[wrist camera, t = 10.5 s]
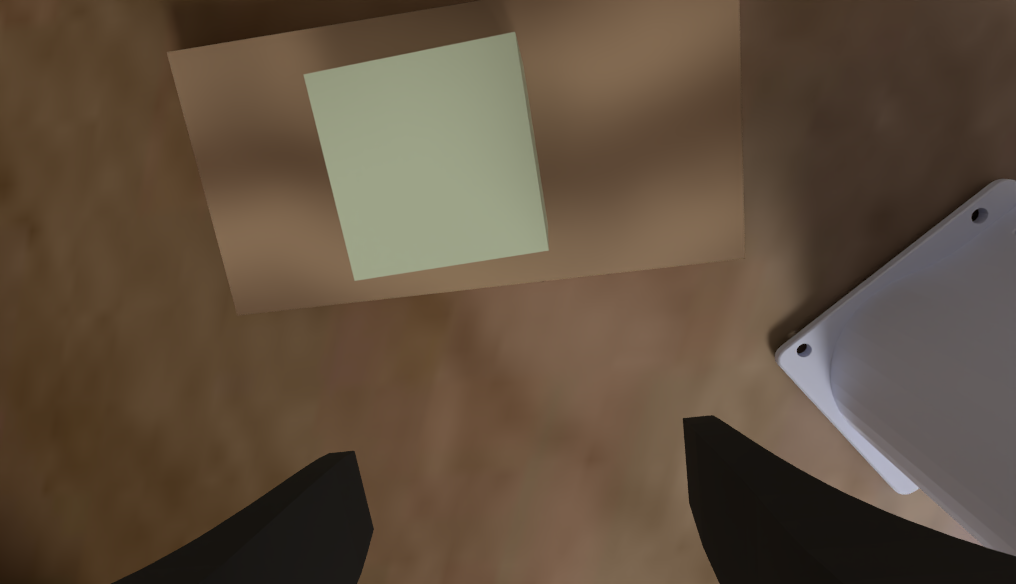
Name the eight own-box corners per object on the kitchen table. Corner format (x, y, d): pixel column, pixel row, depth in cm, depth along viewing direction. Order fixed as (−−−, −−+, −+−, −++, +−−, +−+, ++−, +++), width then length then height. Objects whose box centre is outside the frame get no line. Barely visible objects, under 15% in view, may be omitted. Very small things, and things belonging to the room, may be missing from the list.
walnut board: (195, 59, 19) (166, 52, 17) (721, -26, 17) (738, -43, 16) (258, 304, 21) (237, 315, 20) (730, 250, 19) (745, 258, 18)
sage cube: (523, 66, 17) (515, 32, 12) (547, 223, 18) (548, 250, 13) (370, 95, 17) (303, 74, 12) (404, 246, 18) (354, 281, 14)
